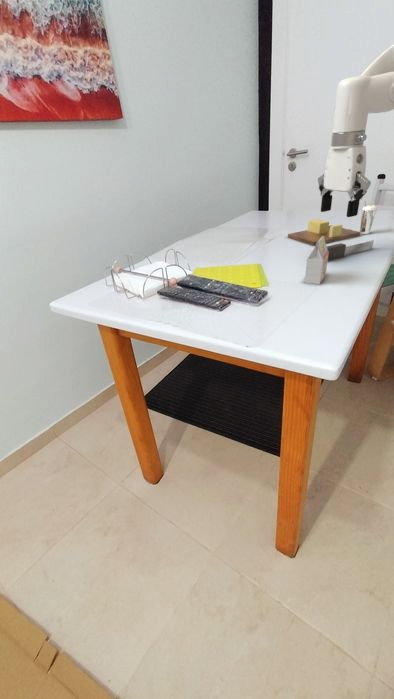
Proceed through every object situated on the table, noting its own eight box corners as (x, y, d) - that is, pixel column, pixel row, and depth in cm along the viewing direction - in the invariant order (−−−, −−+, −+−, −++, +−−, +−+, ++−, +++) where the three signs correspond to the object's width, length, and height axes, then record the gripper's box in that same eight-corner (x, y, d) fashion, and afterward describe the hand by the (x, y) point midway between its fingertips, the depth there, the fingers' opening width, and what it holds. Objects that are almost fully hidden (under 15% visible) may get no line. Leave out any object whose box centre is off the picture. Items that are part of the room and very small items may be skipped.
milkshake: (365, 230, 122) (371, 200, 117) (374, 233, 118) (380, 203, 112) (353, 231, 122) (359, 202, 116) (362, 235, 117) (368, 204, 112)
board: (331, 228, 128) (331, 225, 127) (359, 235, 117) (360, 232, 116) (287, 237, 122) (287, 233, 121) (313, 245, 111) (314, 242, 110)
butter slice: (337, 234, 115) (339, 224, 114) (341, 235, 114) (342, 224, 112) (328, 236, 114) (330, 226, 112) (331, 237, 113) (333, 226, 111)
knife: (320, 262, 97) (321, 250, 95) (315, 260, 98) (316, 248, 96) (374, 249, 103) (376, 237, 101) (369, 247, 105) (371, 236, 103)
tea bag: (304, 282, 85) (309, 242, 80) (311, 273, 90) (315, 235, 85) (319, 284, 83) (325, 243, 78) (325, 275, 88) (331, 236, 83)
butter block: (316, 229, 124) (317, 219, 122) (327, 232, 119) (329, 221, 117) (307, 230, 123) (308, 220, 121) (318, 234, 118) (320, 223, 116)
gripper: (388, 137, 77) (374, 215, 87) (334, 140, 91) (326, 207, 100) (363, 141, 75) (351, 221, 84) (311, 143, 89) (306, 211, 98)
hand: (338, 213), depth 92 cm, fingers open, 9 cm apart
